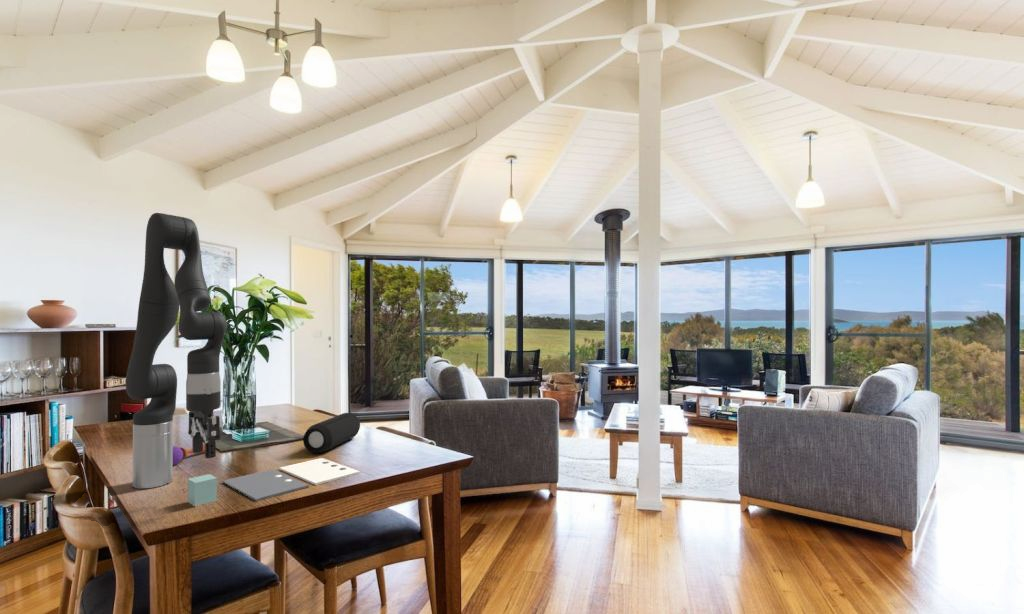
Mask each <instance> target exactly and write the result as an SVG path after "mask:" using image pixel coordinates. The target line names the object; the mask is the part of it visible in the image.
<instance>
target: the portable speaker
mask: <svg viewBox="0 0 1024 614" xmlns="http://www.w3.org/2000/svg"><path fill="white" fill-rule="evenodd" d="M360 429H361V421H360V419H359V418H358V416H356V415H355V414H353V413H349V412H343V413H341V414H338V415H336V416H333V417H331V418H328V419H326V420H323V421H321V422H320V421H319V422H318V423H315V424H313V425H311V426H310V427H308V428H307V430H306V431H305V433H304V434H303V438H302V440H303V446H304V448H305V449H306V450H307V451H309V452H311V453H313V454H323V453H324V452H326V451H329V450H331V449H333V448H335V447H337V446H339V445H341V444H343V443H345V442H347V441H349V440H351V439H352V438H353V439H354V437H356V436H357V435H358V433H359V431H360Z"/></svg>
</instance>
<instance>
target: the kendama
mask: <svg viewBox="0 0 1024 614" xmlns="http://www.w3.org/2000/svg"><path fill="white" fill-rule="evenodd" d="M198 453H205V443H203V451H202V452H197V453H196V454H198ZM189 454H195V453H194V452H193V450H192V448H191V449H186V448H183V447H178V446H175V445H173V466H176V465H178V464H180V462H182V461H183V460H185V458H186V457H187V456H188V455H189Z"/></svg>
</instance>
